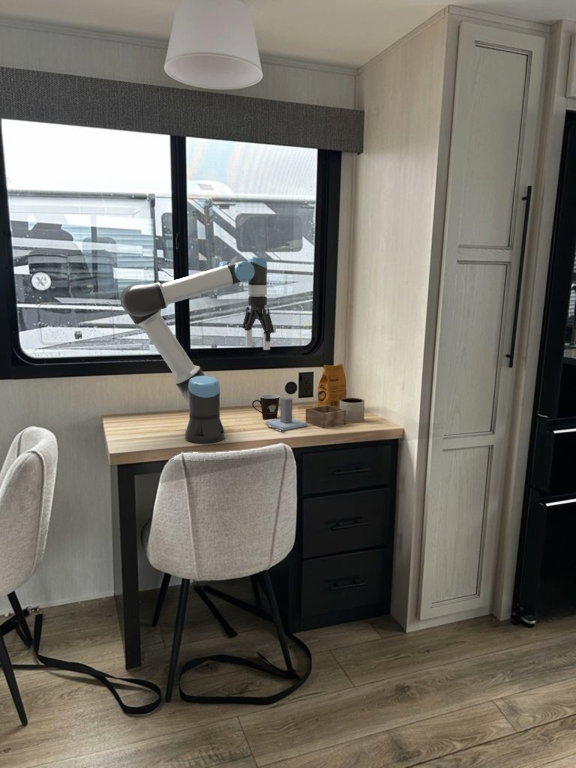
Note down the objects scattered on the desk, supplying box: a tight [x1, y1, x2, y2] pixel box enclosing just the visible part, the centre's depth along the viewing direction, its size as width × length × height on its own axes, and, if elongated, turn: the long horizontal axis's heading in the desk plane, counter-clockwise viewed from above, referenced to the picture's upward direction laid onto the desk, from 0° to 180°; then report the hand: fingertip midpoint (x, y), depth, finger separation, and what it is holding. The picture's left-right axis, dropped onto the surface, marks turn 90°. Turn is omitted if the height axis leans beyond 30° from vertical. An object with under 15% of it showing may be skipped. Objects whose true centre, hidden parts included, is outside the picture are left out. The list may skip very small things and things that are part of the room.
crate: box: [304, 405, 347, 429], centre depth 246 cm, size 12×12×7 cm
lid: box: [264, 396, 308, 432], centre depth 241 cm, size 12×12×13 cm
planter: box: [339, 397, 365, 424], centre depth 253 cm, size 11×11×10 cm
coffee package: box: [316, 363, 347, 408], centre depth 270 cm, size 10×12×22 cm
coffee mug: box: [251, 393, 281, 421], centre depth 257 cm, size 12×9×10 cm
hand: (257, 347), depth 241 cm, fingers open, 13 cm apart
